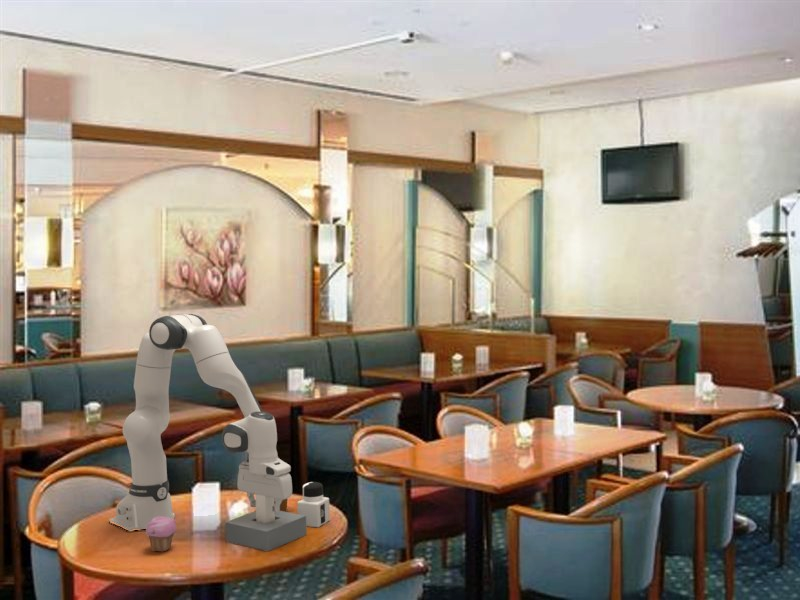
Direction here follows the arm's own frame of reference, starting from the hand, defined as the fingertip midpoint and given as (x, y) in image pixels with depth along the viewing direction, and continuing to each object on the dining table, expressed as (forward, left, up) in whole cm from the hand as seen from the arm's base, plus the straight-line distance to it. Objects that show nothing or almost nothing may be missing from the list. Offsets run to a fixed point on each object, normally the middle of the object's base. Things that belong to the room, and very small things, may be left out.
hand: (264, 509), depth 279 cm
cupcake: (-20, -24, -9) cm, 32 cm away
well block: (0, 0, -9) cm, 9 cm away
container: (+3, +19, -9) cm, 22 cm away
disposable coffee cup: (-16, +22, -9) cm, 29 cm away
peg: (0, 0, -9) cm, 9 cm away
